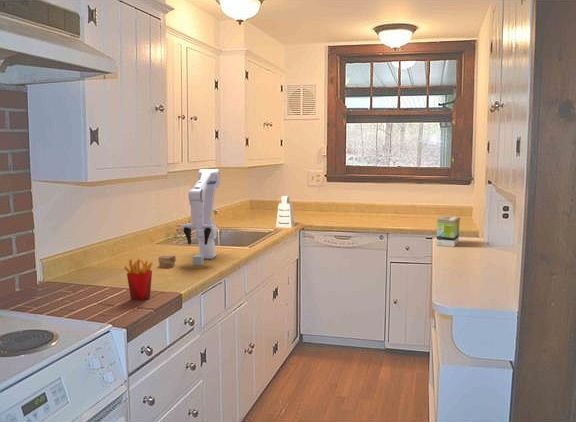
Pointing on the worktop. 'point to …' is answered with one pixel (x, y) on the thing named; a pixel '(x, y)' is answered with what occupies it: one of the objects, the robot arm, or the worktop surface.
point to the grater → (285, 213)
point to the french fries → (139, 280)
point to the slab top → (167, 259)
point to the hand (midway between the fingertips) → (197, 244)
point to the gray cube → (198, 259)
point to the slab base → (167, 265)
